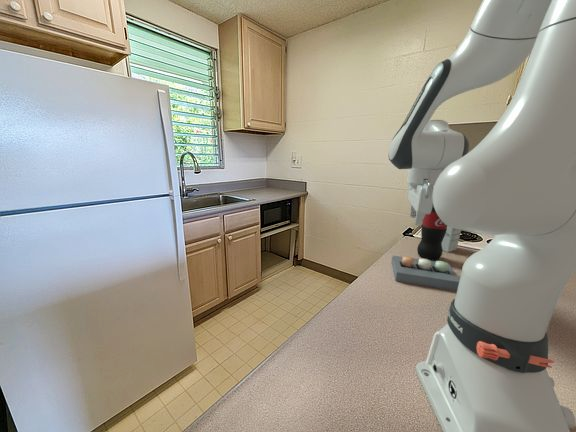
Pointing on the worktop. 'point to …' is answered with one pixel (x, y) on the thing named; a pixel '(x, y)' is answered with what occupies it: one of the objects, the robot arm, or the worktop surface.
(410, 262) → the terracotta button
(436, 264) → the sage button
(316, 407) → the worktop surface
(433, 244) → the cola bottle
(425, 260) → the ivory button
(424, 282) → the panel
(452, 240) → the supplement box
